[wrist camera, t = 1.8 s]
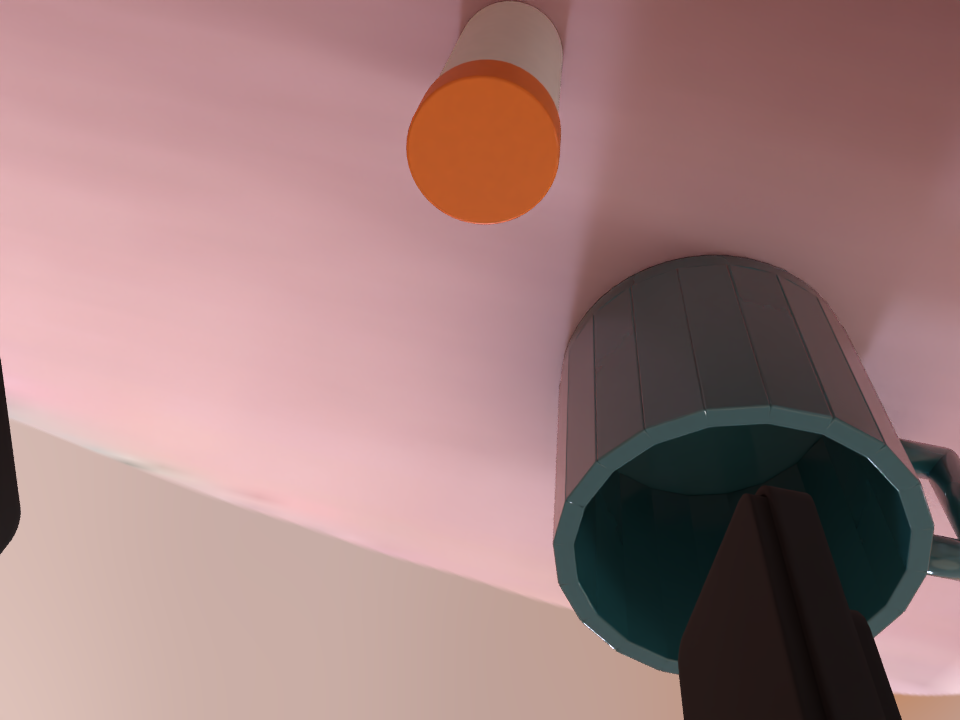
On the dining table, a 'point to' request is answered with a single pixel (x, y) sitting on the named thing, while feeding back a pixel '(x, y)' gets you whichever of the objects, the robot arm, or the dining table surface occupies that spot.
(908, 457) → the mug
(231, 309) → the dining table surface
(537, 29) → the glue stick
